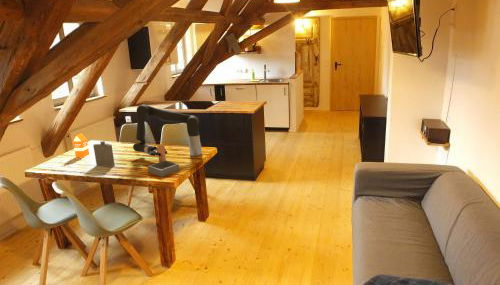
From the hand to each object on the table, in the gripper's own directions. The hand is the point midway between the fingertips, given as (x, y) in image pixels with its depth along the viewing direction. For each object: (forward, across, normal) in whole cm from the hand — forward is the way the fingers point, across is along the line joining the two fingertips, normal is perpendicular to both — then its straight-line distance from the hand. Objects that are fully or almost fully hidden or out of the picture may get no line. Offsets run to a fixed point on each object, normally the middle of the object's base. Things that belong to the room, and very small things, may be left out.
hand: (163, 153), depth 289 cm
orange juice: (-81, -28, +9) cm, 86 cm away
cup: (-3, 0, +9) cm, 9 cm away
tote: (+12, -10, +9) cm, 18 cm away
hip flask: (-39, -29, +9) cm, 49 cm away
